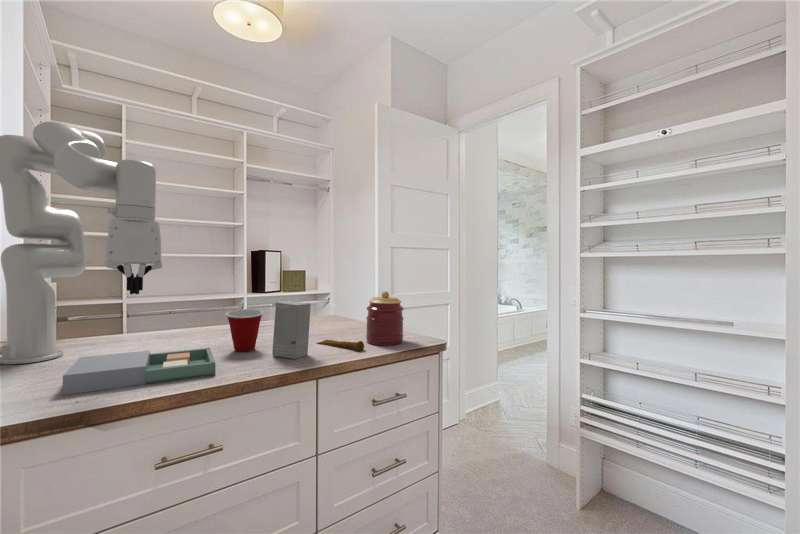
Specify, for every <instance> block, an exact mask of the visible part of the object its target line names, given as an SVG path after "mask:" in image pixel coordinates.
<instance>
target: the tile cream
mask: <svg viewBox="0 0 800 534" xmlns="http://www.w3.org/2000/svg"><path fill="white" fill-rule="evenodd" d="M183 365H188V362H187V360H178V361H169V362H163V368H166V367H175V366H183Z"/></svg>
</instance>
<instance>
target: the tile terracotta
mask: <svg viewBox="0 0 800 534" xmlns="http://www.w3.org/2000/svg"><path fill="white" fill-rule="evenodd" d="M178 360H187V362H188V365H190V352H188V353H178V354H168V355H167V359H166V362H169V361H178Z"/></svg>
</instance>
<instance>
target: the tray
mask: <svg viewBox="0 0 800 534" xmlns="http://www.w3.org/2000/svg"><path fill="white" fill-rule="evenodd" d="M188 352H190V365H183V366H175V367H166V368H163V362H166V359H167V355H168V354H178V353H188ZM202 376H204V377H210V376H216V361H215V358H214V356H213V353H212V350H211V347H207V348H206V347H205V348H196V349H185V350H176V351H165V352H157V353H150V366H149V370H146V384H145V385H152V384H159V383H158V382H160V383H165V382H166V381H167V382H172V381H174V380H175V381H180V379H182V380H188V378H189V379H195V378H194V377H197V378H203V377H202Z"/></svg>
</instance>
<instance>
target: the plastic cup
mask: <svg viewBox="0 0 800 534" xmlns="http://www.w3.org/2000/svg"><path fill="white" fill-rule="evenodd" d="M263 315H264V311H263V310H260V309H254V308H251V309H250V308H249V309H248V308H246V309H245V308H243V309H235V310H230V311H227V312H226V313H225V316H226V317H227V320H228V324H229V327H230V328H229V330H230V334H231V340H232V345H233V349H234V352H236V351H237V353H246V351H248V352H251V351H254V350H255V349H256V344H257V339H258V335H259V329H260V323H261V320H262V316H263Z"/></svg>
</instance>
